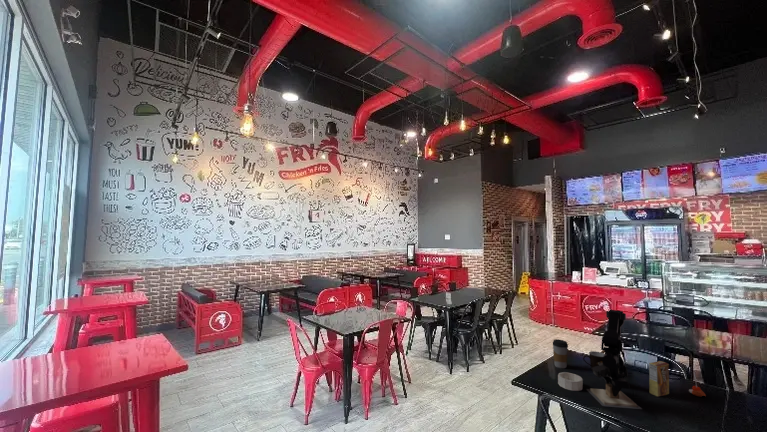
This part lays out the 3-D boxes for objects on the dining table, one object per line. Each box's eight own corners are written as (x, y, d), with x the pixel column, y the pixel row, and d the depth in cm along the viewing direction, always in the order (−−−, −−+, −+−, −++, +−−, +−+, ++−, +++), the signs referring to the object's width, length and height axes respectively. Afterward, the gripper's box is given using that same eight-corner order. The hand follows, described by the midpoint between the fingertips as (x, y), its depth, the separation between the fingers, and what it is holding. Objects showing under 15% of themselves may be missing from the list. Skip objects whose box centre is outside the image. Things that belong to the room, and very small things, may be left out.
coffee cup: (570, 369, 196) (570, 344, 197) (555, 368, 198) (554, 343, 199) (565, 364, 205) (565, 339, 205) (551, 363, 206) (550, 338, 207)
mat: (621, 392, 170) (621, 391, 170) (642, 410, 153) (642, 409, 153) (585, 389, 172) (585, 388, 172) (602, 407, 155) (602, 405, 155)
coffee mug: (606, 370, 196) (606, 353, 197) (607, 375, 189) (606, 357, 190) (583, 365, 203) (583, 349, 203) (583, 370, 195) (583, 353, 196)
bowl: (576, 382, 180) (576, 373, 180) (586, 392, 169) (586, 382, 169) (555, 381, 181) (555, 371, 182) (563, 390, 171) (563, 380, 171)
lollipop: (691, 398, 165) (690, 373, 165) (687, 390, 173) (687, 367, 173) (708, 401, 161) (707, 376, 162) (703, 393, 169) (702, 369, 170)
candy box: (660, 390, 172) (659, 360, 173) (669, 394, 168) (669, 363, 169) (649, 393, 169) (648, 362, 170) (658, 397, 165) (657, 365, 166)
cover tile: (619, 392, 168) (619, 380, 169) (636, 407, 154) (636, 393, 155) (590, 390, 170) (590, 378, 170) (604, 404, 156) (604, 391, 157)
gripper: (585, 353, 173) (585, 384, 173) (603, 368, 155) (604, 402, 154) (608, 355, 172) (609, 385, 171) (630, 370, 153) (630, 404, 153)
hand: (612, 394), depth 162 cm, fingers closed on cover tile, 4 cm apart
